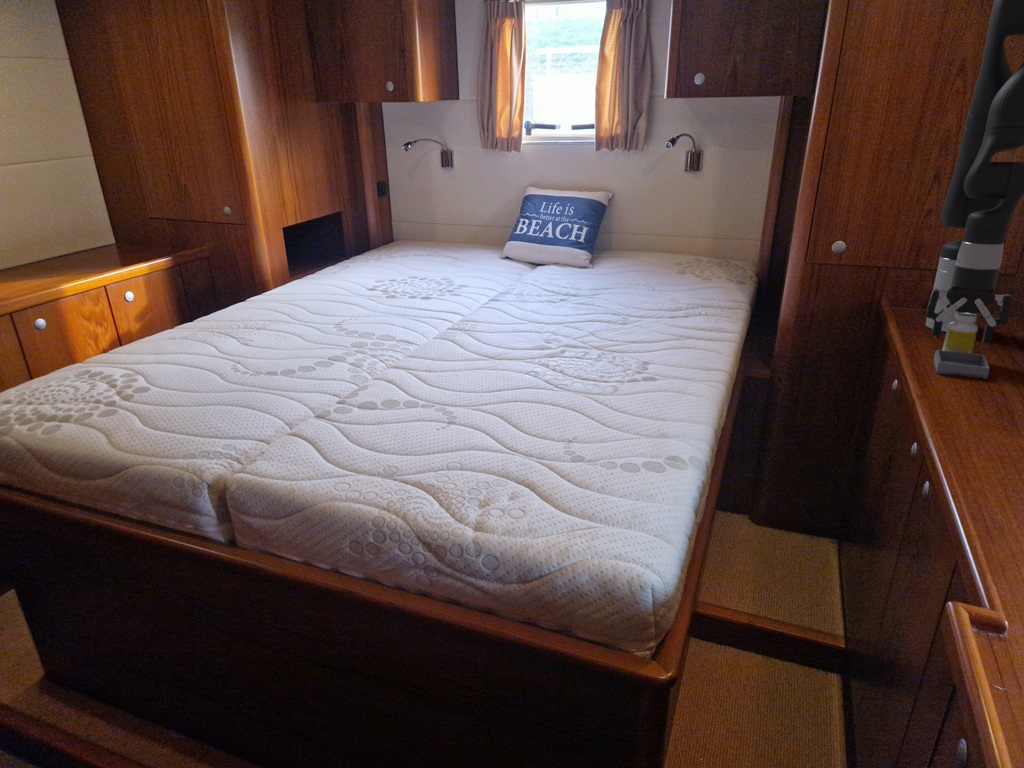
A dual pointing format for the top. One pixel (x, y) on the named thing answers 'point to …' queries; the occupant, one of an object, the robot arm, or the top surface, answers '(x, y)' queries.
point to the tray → (961, 364)
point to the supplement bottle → (961, 333)
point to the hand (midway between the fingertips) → (960, 340)
